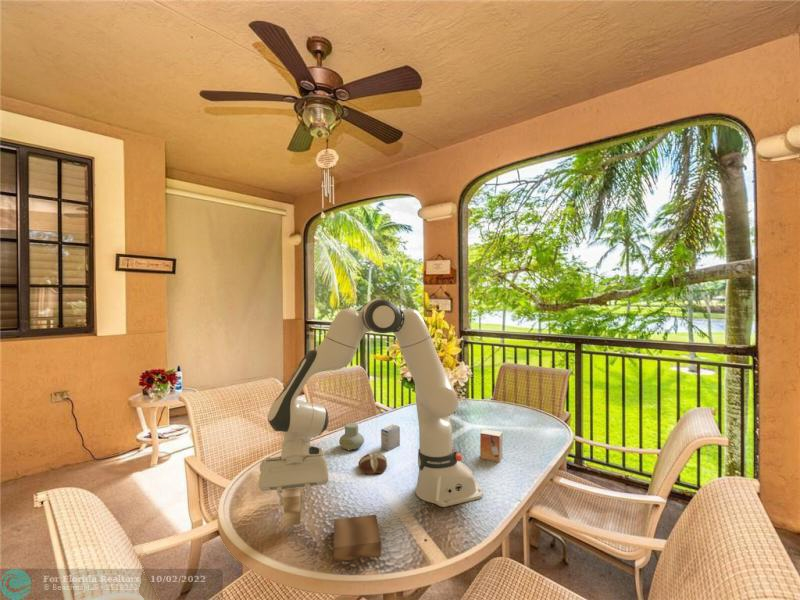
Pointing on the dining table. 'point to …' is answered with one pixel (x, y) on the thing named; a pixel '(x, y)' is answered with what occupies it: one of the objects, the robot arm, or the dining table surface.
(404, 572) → the dining table surface
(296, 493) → the maple block
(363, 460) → the bread
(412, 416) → the dining table surface
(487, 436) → the small box
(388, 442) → the medicine box
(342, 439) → the air freshener
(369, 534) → the walnut base block
